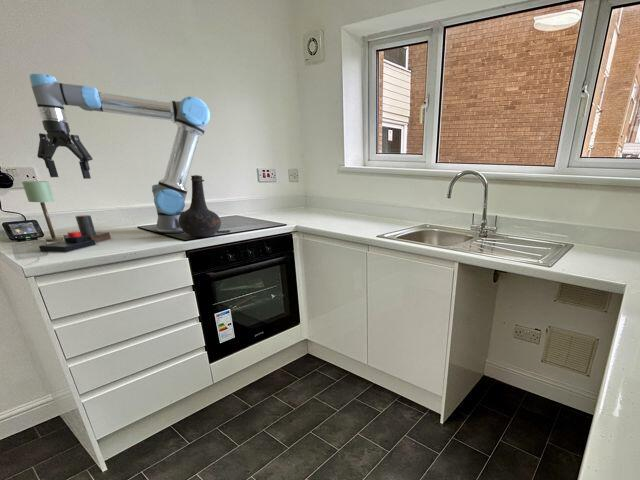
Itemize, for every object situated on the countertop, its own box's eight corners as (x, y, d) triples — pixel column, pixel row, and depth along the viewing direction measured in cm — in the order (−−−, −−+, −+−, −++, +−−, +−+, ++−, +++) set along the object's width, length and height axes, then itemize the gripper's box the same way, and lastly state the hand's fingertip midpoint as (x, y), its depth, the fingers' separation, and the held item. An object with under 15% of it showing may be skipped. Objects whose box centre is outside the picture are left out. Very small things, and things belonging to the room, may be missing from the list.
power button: (84, 236, 147) (82, 231, 146) (75, 238, 143) (74, 233, 142) (74, 236, 147) (73, 231, 146) (66, 238, 143) (64, 233, 142)
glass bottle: (179, 239, 160) (172, 175, 150) (180, 230, 174) (173, 171, 164) (223, 239, 169) (218, 179, 158) (220, 231, 183) (216, 175, 172)
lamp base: (96, 244, 150) (94, 235, 148) (66, 252, 136) (62, 242, 135) (73, 243, 150) (70, 234, 148) (40, 251, 136) (37, 241, 135)
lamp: (71, 239, 140) (53, 181, 132) (55, 242, 133) (35, 182, 125) (54, 238, 140) (35, 180, 132) (37, 242, 133) (15, 181, 125)
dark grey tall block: (82, 233, 154) (76, 214, 151) (97, 233, 156) (91, 214, 153) (79, 235, 150) (73, 216, 147) (94, 235, 152) (88, 215, 149)
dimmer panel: (112, 238, 160) (110, 232, 159) (92, 244, 150) (89, 236, 149) (85, 237, 160) (83, 231, 159) (63, 242, 150) (60, 235, 149)
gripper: (13, 118, 133) (31, 176, 141) (77, 120, 133) (93, 179, 141) (32, 120, 140) (49, 176, 148) (94, 123, 140) (108, 178, 148)
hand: (71, 178), depth 144 cm, fingers open, 13 cm apart
